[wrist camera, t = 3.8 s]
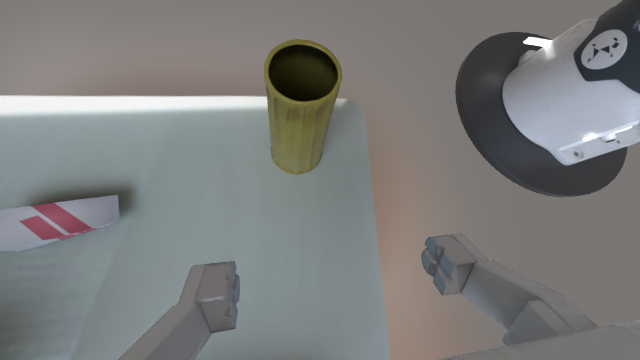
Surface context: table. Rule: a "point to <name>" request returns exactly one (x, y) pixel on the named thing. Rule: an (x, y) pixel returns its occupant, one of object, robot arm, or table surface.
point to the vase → (300, 102)
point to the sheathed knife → (54, 221)
